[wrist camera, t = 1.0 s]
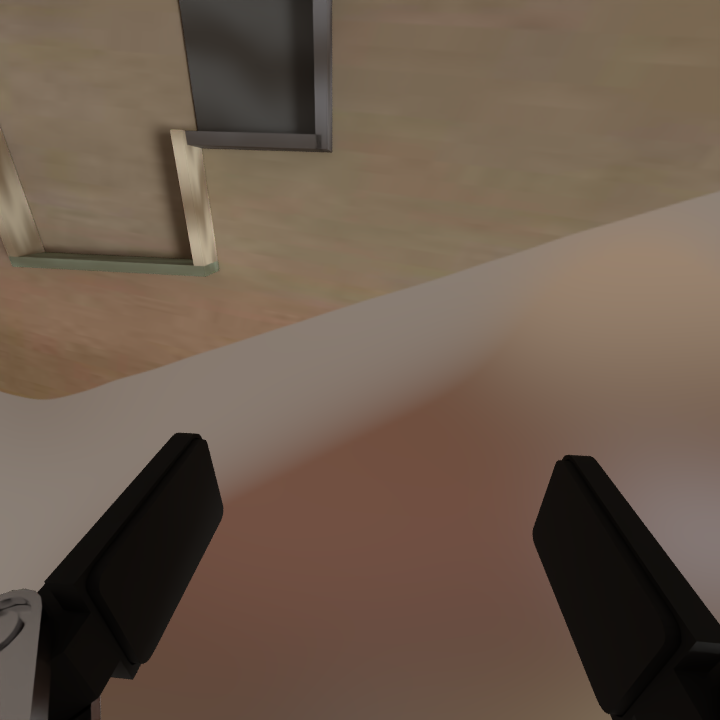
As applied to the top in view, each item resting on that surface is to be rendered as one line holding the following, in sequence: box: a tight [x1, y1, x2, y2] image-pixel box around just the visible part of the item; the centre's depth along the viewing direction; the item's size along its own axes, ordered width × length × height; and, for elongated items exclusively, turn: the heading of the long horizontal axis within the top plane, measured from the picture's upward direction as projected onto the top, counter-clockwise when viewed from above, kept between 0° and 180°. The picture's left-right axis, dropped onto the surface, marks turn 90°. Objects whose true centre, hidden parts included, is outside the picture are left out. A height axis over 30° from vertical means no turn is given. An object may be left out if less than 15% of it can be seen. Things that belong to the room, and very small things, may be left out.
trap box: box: [0, 0, 332, 277], centre depth 28 cm, size 33×44×3 cm
